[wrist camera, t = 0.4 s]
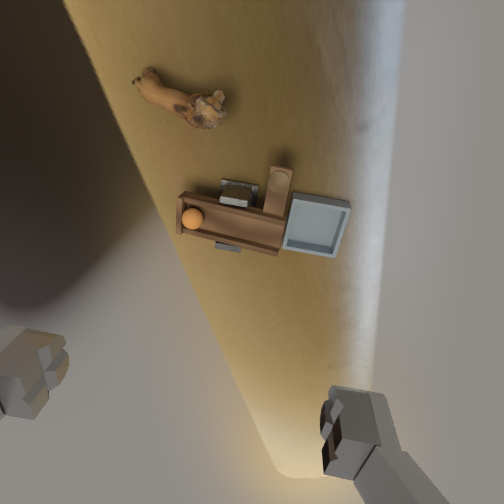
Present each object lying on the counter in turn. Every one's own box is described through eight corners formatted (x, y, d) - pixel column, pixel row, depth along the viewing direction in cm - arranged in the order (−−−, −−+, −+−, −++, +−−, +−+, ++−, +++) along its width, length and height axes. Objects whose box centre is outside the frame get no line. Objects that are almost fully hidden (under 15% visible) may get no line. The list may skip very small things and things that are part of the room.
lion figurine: (237, 87, 46) (226, 94, 38) (230, 127, 49) (219, 140, 41) (134, 62, 46) (102, 63, 38) (133, 103, 48) (103, 112, 41)
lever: (187, 145, 47) (178, 150, 44) (297, 169, 45) (294, 175, 42) (184, 225, 53) (175, 233, 51) (279, 249, 51) (276, 259, 49)
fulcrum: (222, 178, 53) (213, 193, 47) (258, 184, 53) (254, 201, 47) (217, 228, 58) (208, 248, 52) (250, 234, 57) (246, 254, 52)
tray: (293, 191, 53) (293, 198, 50) (348, 201, 53) (351, 209, 50) (282, 239, 57) (281, 248, 55) (333, 249, 57) (335, 258, 55)
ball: (186, 202, 50) (178, 211, 47) (206, 207, 50) (199, 215, 47) (185, 221, 52) (177, 230, 49) (205, 225, 51) (198, 235, 49)
